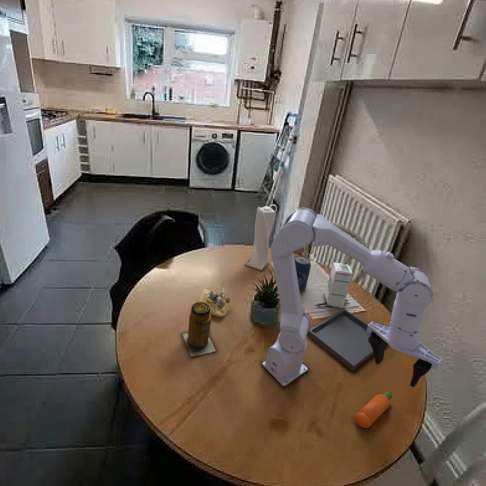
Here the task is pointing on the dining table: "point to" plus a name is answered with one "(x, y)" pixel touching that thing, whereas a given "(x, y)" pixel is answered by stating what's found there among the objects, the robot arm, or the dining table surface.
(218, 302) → the cake
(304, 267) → the soda can
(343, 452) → the dining table surface
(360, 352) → the gray tray
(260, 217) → the skyscraper
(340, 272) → the syrup box
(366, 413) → the carrot
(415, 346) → the robot arm
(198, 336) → the condiment
